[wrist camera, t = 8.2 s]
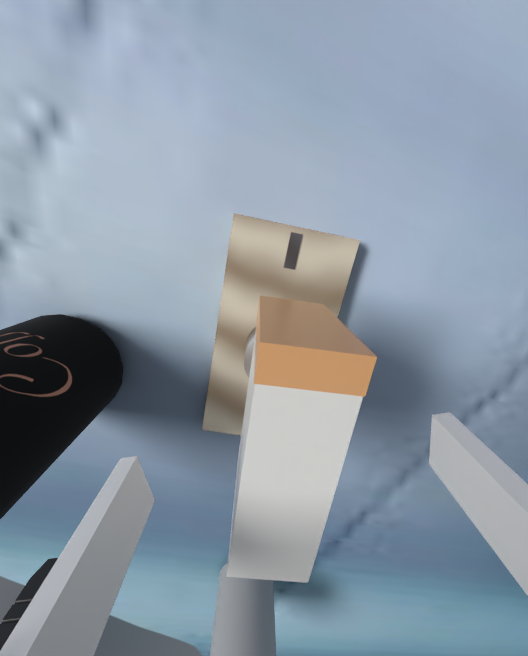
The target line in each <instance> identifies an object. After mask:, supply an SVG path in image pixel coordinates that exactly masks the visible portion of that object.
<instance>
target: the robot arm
mask: <svg viewBox="0 0 528 656" xmlns="http://www.w3.org/2000/svg"><path fill="white" fill-rule="evenodd" d="M429 464H430V466H431V467H432V468H433V470H434V471H435V472H436V474H437V475H438V476H439V478H440V479H441V480H442V482H443V483H444V485H445V486H446V487H447V489H448V490H449V491H450V493H451V494H452V495H453V497H454V498H455V499H456V501H457V502H458V503H459V505H460V506H461V507H462V509H463V510H464V511H465V513H466V514H467V515H468V517H469V518H470V519H471V521H472V522H473V523H474V525H475V526H476V527H477V529H478V530H479V531H480V533H481V534H482V535H483V537H484V538H485V539H486V541H487V542H488V543H489V545H490V546H491V547H492V549H493V550H494V552H495V553H496V554H497V556H498V557H499V558H500V560H501V561H502V562H503V564H504V565H505V566H506V568H507V569H508V570H509V572H510V573H511V574H512V576H513V577H514V578H515V580H516V581H517V582H518V584H519V585H520V586H521V588H522V589H523V590H524V592H525V593H526V594H527V596H528V484H527V483H526V482H525V481H524V480H523V479H522V478H521V477H519V476H518V475H517V474H516V473H515V472H514V471H513V470H512V469H511V468H510V467H509V466H508V465H506V464H505V463H504V462H503V461H502V460H501V459H500V458H499V457H498V456H497V455H496V454H495V453H493V452H492V451H491V450H490V449H489V448H488V447H487V446H486V445H485V444H484V443H483V442H482V441H480V440H479V439H478V438H477V437H476V436H475V435H474V434H473V433H472V432H471V431H470V430H469V429H467V428H466V427H465V426H464V425H463V424H462V423H461V422H460V421H459V420H458V419H457V418H456V417H454V416H453V415H452V414H451V413H442V414H435V415H432V424H431V441H430V457H429ZM154 501H155V499H154V497H153V494H152V492H151V490H150V487H149V485H148V482H147V480H146V477H145V475H144V472H143V470H142V467H141V465H140V462H139V460H138V457H137V456H134V457H127V458H120V460H119V462H118V463H117V465H116V466H115V468H114V470H113V471H112V473H111V474H110V476H109V478H108V479H107V481H106V482H105V484H104V486H103V487H102V489H101V490H100V492H99V494H98V495H97V497H96V498H95V500H94V502H93V503H92V505H91V506H90V508H89V510H88V511H87V513H86V514H85V516H84V518H83V519H82V521H81V522H80V524H79V526H78V527H77V529H76V530H75V532H74V534H73V535H72V537H71V538H70V540H69V542H68V543H67V545H66V546H65V548H64V550H63V551H62V553H61V554H60V556H59V558H53V559H48V560H47V561H46V562H45V563H44V564H43V565H42V566H41V568H40V569H39V570H38V571H37V572H36V573H35V574H34V575H33V576H32V577H31V578H30V580H29V581H28V583H27V584H26V586H25V587H24V589H23V590H22V591H21V593H20V594H19V596H18V597H17V599H16V602H15V604H14V605H12V606H11V608H10V610H9V611H8V613H7V614H6V615H5V617H4V618H3V622H2V624H0V656H93V655H94V653H95V650H96V648H97V645H98V643H99V640H100V638H101V635H102V632H103V630H104V628H105V625H106V622H107V620H108V617H109V615H110V612H111V610H112V607H113V605H114V602H115V600H116V597H117V595H118V592H119V590H120V587H121V585H122V582H123V579H124V577H125V574H126V572H127V569H128V567H129V564H130V562H131V559H132V557H133V554H134V552H135V549H136V547H137V544H138V542H139V539H140V537H141V534H142V531H143V529H144V526H145V524H146V521H147V519H148V516H149V514H150V511H151V509H152V506H153V504H154Z"/></svg>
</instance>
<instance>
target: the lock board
mask: <svg viewBox="0 0 528 656" xmlns="http://www.w3.org/2000/svg"><path fill="white" fill-rule="evenodd" d="M359 243H360V240H357V239H352V238H348V237H343V236H338V235H333V234H329V233H324V232H319V231H314V230H310V229H305V228H300V227H296V226H291V225H286V224H281V223H277V222H272V221H267V220H262V219H258V218H253V217H248V216H243V215H239V214H234V215H233V222H232V229H231V236H230V242H229V249H228V256H227V263H226V270H225V276H224V283H223V290H222V297H221V304H220V310H219V317H218V324H217V331H216V338H215V344H214V351H213V358H212V365H211V372H210V378H209V385H208V392H207V399H206V406H205V412H204V419H203V426H202V430H206V431H213V432H220V433H227V434H233V435H240V436H241V433H242V425H243V418H244V411H245V404H246V397H247V390H248V382H249V375H250V368H251V361H252V354H253V347H254V339H255V332H256V319H257V312H258V305H259V298H260V295H261V296H268V297H275V298H283V299H290V300H297V301H305V302H312V303H319V304H324V305H325V306H326V307H327V308H328V309H329V310H330V311H331V312H332V313H333V314H334V315H335V316H336V317H337V318H338V315H339V311H340V308H341V304H342V301H343V297H344V294H345V291H346V287H347V284H348V280H349V277H350V273H351V270H352V267H353V263H354V260H355V256H356V253H357V249H358V246H359Z"/></svg>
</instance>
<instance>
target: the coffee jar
mask: <svg viewBox="0 0 528 656" xmlns="http://www.w3.org/2000/svg"><path fill="white" fill-rule="evenodd" d="M122 373H123V366H122V362H121V358H120V354H119V351H118V349H117V348H116V346H115V345H114V343H113V341H112V340H111V338H109V337H108V336H107V335H106V334H105V333H104V332H103V331H102V330H101V329H99V328H98V327H96V326H94V325H92V324H90V323H88V322H86V321H84V320H82V319H79V318H75V317H70V316H65V315H46V316H40V317H37V318H34V319H31V320H28V321H25V322H23V323H20V324H17V325H14V326H11V327H8V328H5V329H2V330H0V519H1V518H2V517H3V516H4V515H5V514H6V513H7V512H8V511H9V509H10V508H11V507H12V506H13V505H14V504H15V503H16V502H17V501H18V500H19V499H20V498H21V497H22V495H23V494H24V493H25V492H26V491H27V490H28V489H29V488H30V487H31V486H32V485H33V484H34V483H35V482H36V480H37V479H38V478H39V477H40V476H41V475H42V474H43V473H44V472H45V471H46V470H47V469H48V468H49V467H50V465H51V464H52V463H53V462H54V461H55V460H56V459H57V458H58V457H59V456H60V455H61V454H62V453H63V452H64V450H65V449H66V448H67V447H68V446H69V445H70V444H71V443H72V442H73V441H74V440H75V439H76V438H77V437H78V435H79V434H80V433H81V432H82V431H83V430H84V429H85V428H86V427H87V426H88V425H89V424H90V423H91V422H92V420H93V419H94V418H95V417H96V416H97V415H98V414H99V413H100V412H101V411H102V410H103V409H104V408H105V407H106V405H107V404H108V403H109V402H110V401H111V400H112V399H113V398H114V397H115V395H116V394H117V392H118V390H119V388H120V386H121V383H122Z"/></svg>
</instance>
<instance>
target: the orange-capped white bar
mask: <svg viewBox="0 0 528 656" xmlns="http://www.w3.org/2000/svg"><path fill="white" fill-rule="evenodd" d="M376 359H377V356H376V355H375V354H374V353H373V352H372V351H371V350H370V349H369V348H368V347H367V346H366V345H365V344H364V343H363V342H362V341H361V340H360V339H359V338H358V337H357V336H355V335H354V334H353V333H352V332H351V331H350V330H349V329H348V328H347V327H346V326H345V325H344V324H343V323H342V322H341V321H340V320H339V319H338V318H337V317H336V316H335V315H334V314H333V313H332V312H331V311H330V310H329V309H328V308H327V307H326V306H325V305H324V304H319V303H312V302H305V301H297V300H290V299H283V298H275V297H268V296H261V295H260V298H259V305H258V312H257V319H256V332H255V339H254V347H253V354H252V361H251V368H250V375H249V382H248V390H247V397H246V404H245V411H244V418H243V425H242V433H241V440H240V447H239V455H238V465H237V475H236V485H235V496H234V506H233V516H232V526H231V536H230V546H229V556H228V566H227V576H226V577H237V578H250V579H264V580H277V581H290V582H304V583H308V581H309V578H310V575H311V571H312V568H313V564H314V561H315V558H316V554H317V551H318V548H319V544H320V541H321V537H322V534H323V531H324V527H325V524H326V521H327V517H328V514H329V510H330V507H331V504H332V500H333V497H334V494H335V490H336V487H337V484H338V480H339V477H340V473H341V470H342V467H343V463H344V460H345V457H346V453H347V450H348V446H349V443H350V440H351V436H352V433H353V430H354V426H355V423H356V419H357V416H358V413H359V409H360V406H361V403H362V399H363V397H365V396H366V393H367V390H368V386H369V383H370V379H371V376H372V373H373V369H374V366H375V363H376Z"/></svg>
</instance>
